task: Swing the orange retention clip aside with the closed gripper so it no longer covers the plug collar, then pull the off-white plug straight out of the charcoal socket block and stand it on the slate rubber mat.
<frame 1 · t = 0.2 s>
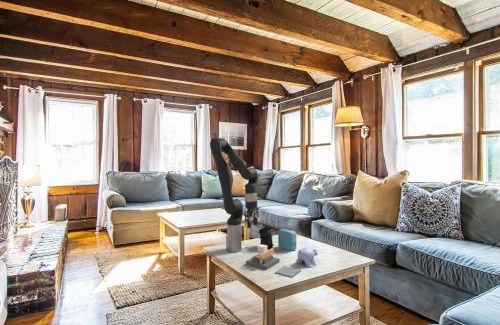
hand: (252, 226, 180), 18 cm above the table, tool pointing down, fingers open, 8 cm apart
plug: (262, 259, 166), point 2 cm above the table, touching socket block
clip: (266, 254, 164), point 6 cm above the table, hinge at 0.0°
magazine: (265, 247, 195), on the table
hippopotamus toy: (307, 263, 166), on the table
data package: (287, 248, 192), on the table
socket block: (262, 263, 166), on the table
mat: (288, 272, 153), on the table
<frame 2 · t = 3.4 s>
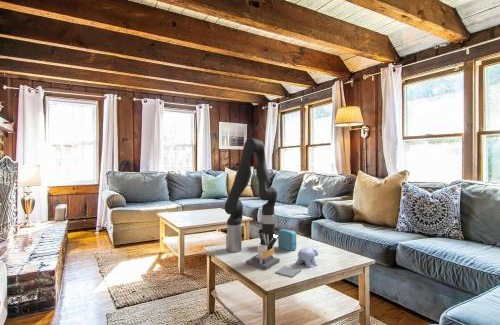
hand: (268, 251, 170), 6 cm above the table, tool pointing down, fingers closed
clip: (267, 254, 164), point 6 cm above the table, hinge at 0.8°, touching gripper
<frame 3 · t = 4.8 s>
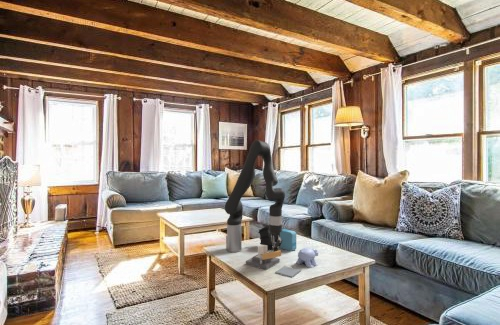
hand: (275, 252, 167), 6 cm above the table, tool pointing down, fingers closed
clip: (270, 255, 162), point 6 cm above the table, hinge at 26.3°, touching gripper
everything else where it was.
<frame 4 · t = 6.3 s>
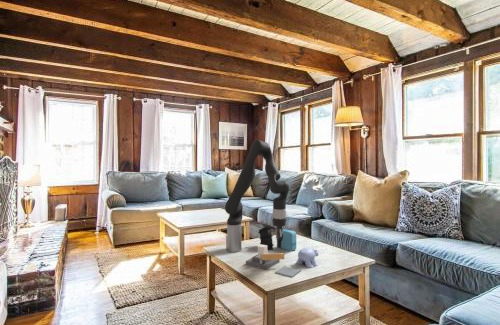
hand: (279, 247, 162), 10 cm above the table, tool pointing down, fingers closed
clip: (271, 256, 160), point 6 cm above the table, hinge at 48.6°
everything else where it was.
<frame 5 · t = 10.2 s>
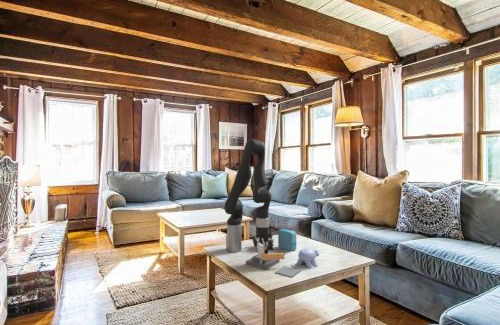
hand: (262, 255, 166), 5 cm above the table, tool pointing down, fingers closed on plug, 4 cm apart
plug: (262, 259, 166), point 2 cm above the table, touching gripper, socket block
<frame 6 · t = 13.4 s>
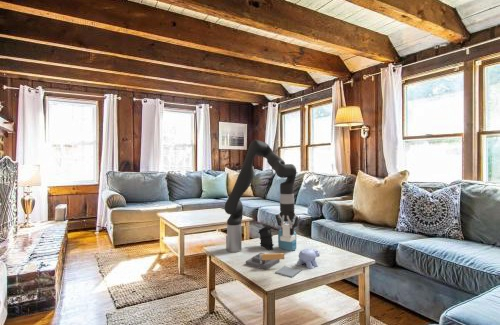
hand: (287, 234, 153), 20 cm above the table, tool pointing down, fingers closed on plug, 4 cm apart
plug: (287, 239, 153), point 17 cm above the table, touching gripper
when the fingers open (5 cm above the table, at t = 16.6 s): plug drops 1 cm, resting on mat.
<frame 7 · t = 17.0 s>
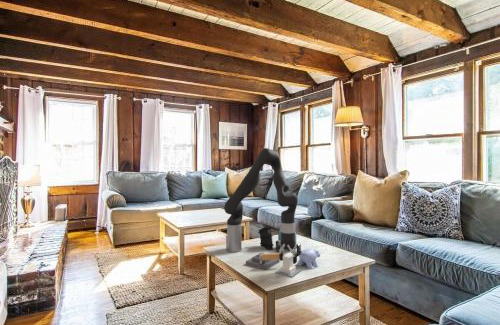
hand: (288, 261, 153), 5 cm above the table, tool pointing down, fingers open, 7 cm apart
plug: (288, 270, 153), point 1 cm above the table, touching mat
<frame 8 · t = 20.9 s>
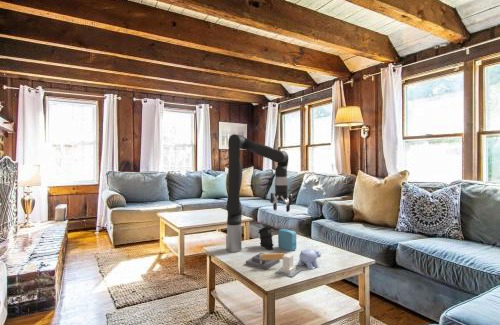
hand: (281, 210, 175), 28 cm above the table, tool pointing down, fingers open, 8 cm apart
at the end: clip at +49° (first picture: +0°); plug inside the target area on the mat (0.1 cm from its centre), point 0.6 cm above the mat's base; plug tilted 0° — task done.
